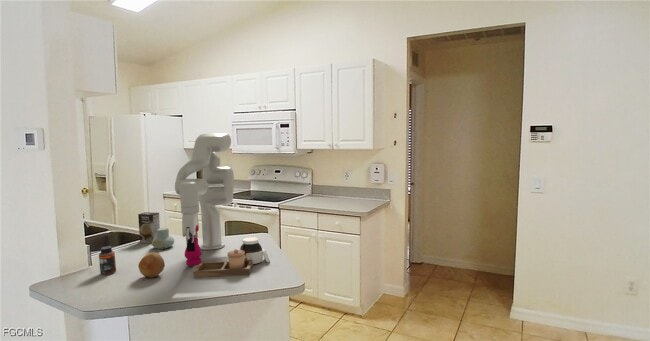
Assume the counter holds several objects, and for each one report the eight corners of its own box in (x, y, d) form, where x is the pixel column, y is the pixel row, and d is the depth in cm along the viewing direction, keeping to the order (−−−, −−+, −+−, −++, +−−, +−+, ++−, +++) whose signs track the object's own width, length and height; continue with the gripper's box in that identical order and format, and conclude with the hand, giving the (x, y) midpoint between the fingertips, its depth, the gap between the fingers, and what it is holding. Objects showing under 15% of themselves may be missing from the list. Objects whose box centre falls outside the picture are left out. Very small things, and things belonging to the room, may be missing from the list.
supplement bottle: (113, 269, 166) (112, 244, 165) (118, 272, 161) (116, 247, 160) (98, 273, 161) (96, 247, 160) (102, 276, 157) (100, 250, 156)
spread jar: (238, 264, 168) (236, 239, 167) (258, 258, 176) (257, 234, 175) (254, 270, 160) (252, 243, 159) (274, 263, 168) (273, 238, 167)
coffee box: (139, 242, 208) (137, 214, 207) (146, 239, 215) (144, 211, 213) (154, 243, 207) (152, 214, 205) (161, 240, 213) (159, 212, 212)
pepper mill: (196, 266, 164) (193, 221, 161) (181, 265, 165) (178, 221, 163) (205, 260, 171) (202, 217, 168) (190, 259, 172) (188, 217, 170)
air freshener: (149, 249, 195) (148, 230, 194) (159, 244, 203) (158, 226, 202) (167, 250, 193) (166, 231, 192) (177, 245, 201) (176, 227, 200)
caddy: (201, 270, 161) (200, 262, 161) (252, 268, 163) (252, 260, 162) (194, 280, 150) (193, 271, 150) (249, 277, 152) (249, 268, 151)
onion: (139, 274, 159) (138, 251, 158) (165, 270, 162) (163, 248, 162) (138, 282, 150) (136, 258, 149) (165, 278, 154) (163, 254, 153)
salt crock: (229, 268, 160) (228, 247, 159) (246, 267, 160) (245, 246, 160) (227, 274, 153) (225, 252, 152) (244, 273, 153) (243, 251, 153)
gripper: (186, 205, 173) (189, 243, 175) (175, 214, 156) (178, 256, 158) (203, 205, 174) (205, 242, 176) (193, 213, 157) (196, 255, 159)
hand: (192, 248), depth 167 cm, fingers closed on pepper mill, 5 cm apart
